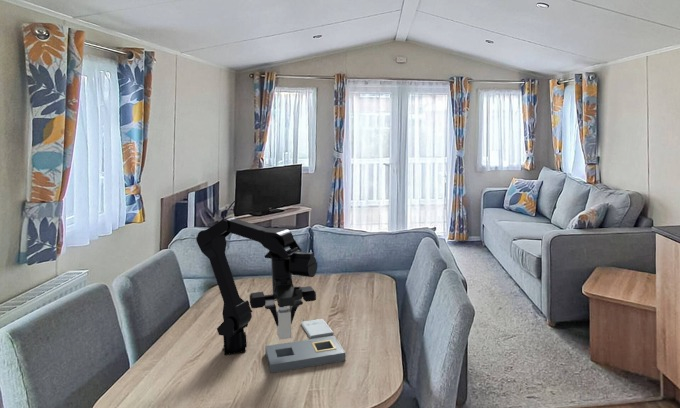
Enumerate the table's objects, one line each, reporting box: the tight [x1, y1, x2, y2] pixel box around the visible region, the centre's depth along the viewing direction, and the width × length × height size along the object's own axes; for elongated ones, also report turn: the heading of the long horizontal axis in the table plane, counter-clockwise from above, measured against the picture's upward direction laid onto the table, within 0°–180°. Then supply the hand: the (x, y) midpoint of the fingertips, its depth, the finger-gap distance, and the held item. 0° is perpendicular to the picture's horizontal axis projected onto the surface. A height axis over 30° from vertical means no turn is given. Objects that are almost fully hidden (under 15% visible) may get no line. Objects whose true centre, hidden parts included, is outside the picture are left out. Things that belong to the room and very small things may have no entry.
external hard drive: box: [300, 318, 335, 339], centre depth 148 cm, size 2×8×12 cm
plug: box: [276, 306, 293, 341], centre depth 125 cm, size 4×4×9 cm
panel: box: [264, 335, 346, 374], centre depth 129 cm, size 22×12×3 cm, turn 107°
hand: (283, 324), depth 126 cm, fingers closed on plug, 4 cm apart
